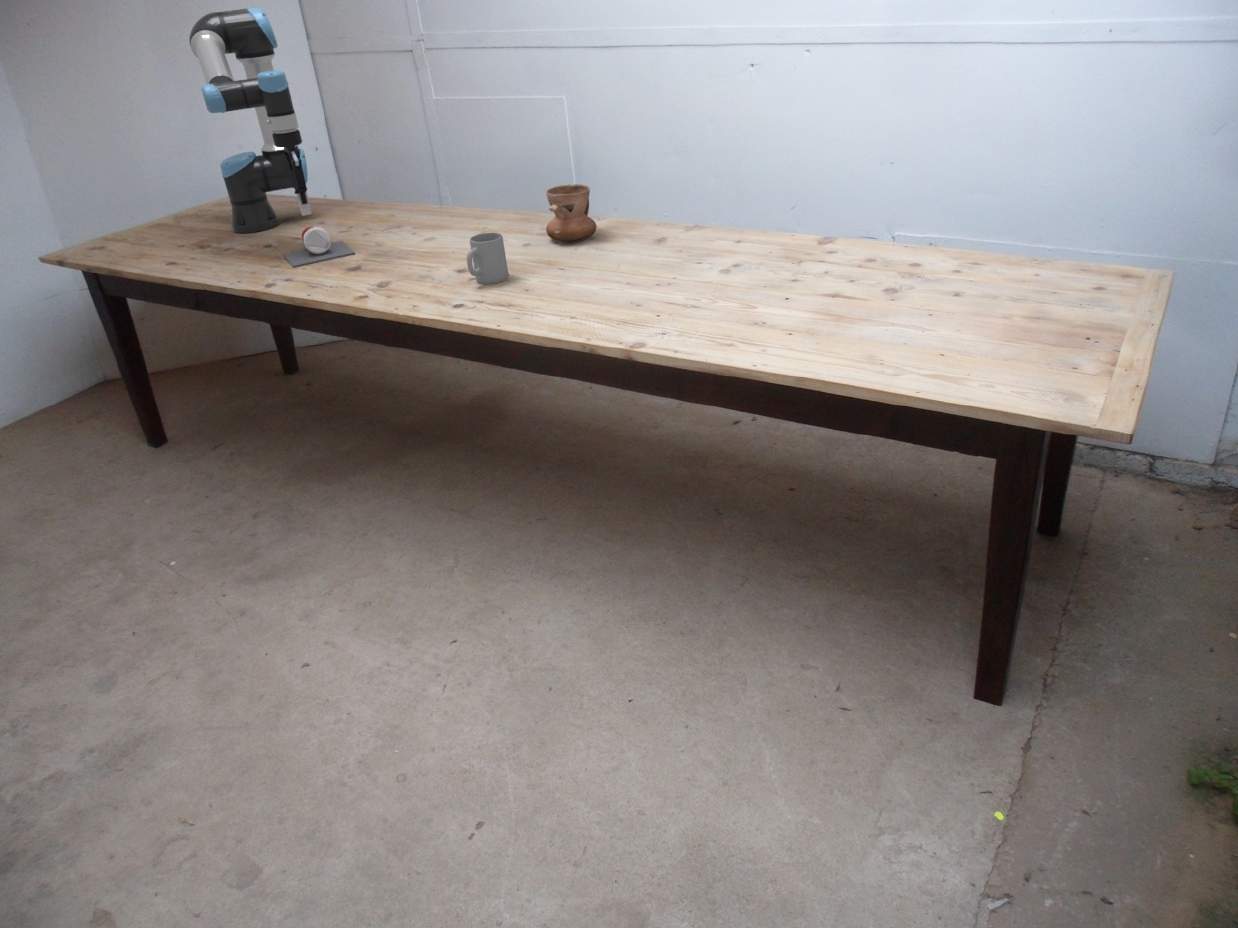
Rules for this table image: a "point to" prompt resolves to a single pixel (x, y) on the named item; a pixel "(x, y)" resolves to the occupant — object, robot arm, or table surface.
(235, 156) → the robot arm
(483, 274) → the mug
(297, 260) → the rubber mat
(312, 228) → the paper cup
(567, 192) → the ceramic jug
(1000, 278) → the table surface
